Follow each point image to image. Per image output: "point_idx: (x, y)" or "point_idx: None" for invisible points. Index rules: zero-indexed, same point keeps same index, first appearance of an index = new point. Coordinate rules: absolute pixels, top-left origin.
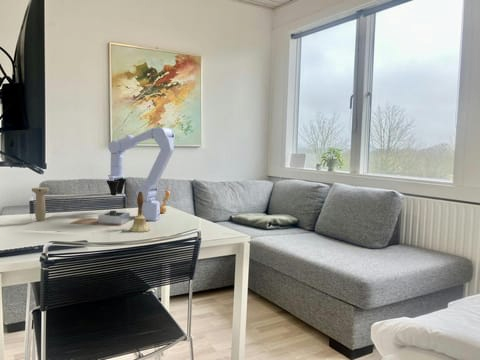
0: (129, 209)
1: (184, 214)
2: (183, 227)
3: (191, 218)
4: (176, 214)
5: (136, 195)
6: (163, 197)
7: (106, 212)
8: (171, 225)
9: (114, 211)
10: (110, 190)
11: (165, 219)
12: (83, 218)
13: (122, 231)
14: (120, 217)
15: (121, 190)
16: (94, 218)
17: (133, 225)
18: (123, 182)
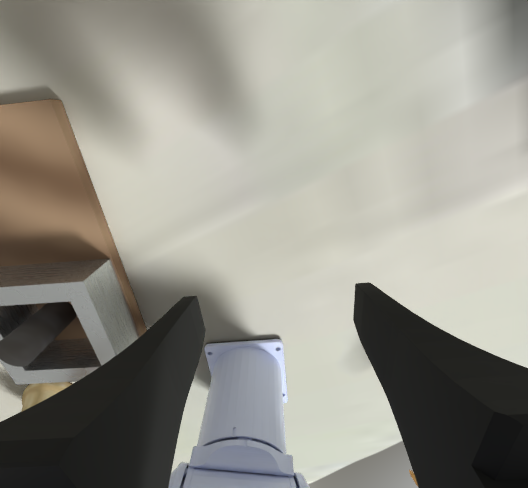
0: (512, 204)
1: (391, 439)
2: (171, 472)
3: (317, 465)
4: (385, 420)
5: (171, 483)
6: None
7: (51, 289)
8: (180, 448)
9: (9, 363)
10: (151, 331)
11: None
12: (38, 119)
13: (4, 370)
14: (18, 378)
15: (365, 347)
16: (81, 185)
17: (21, 411)
18: (419, 478)
